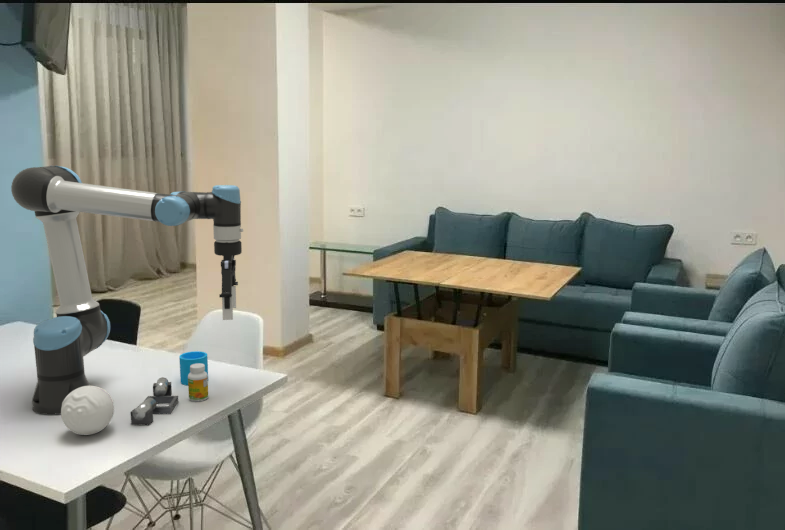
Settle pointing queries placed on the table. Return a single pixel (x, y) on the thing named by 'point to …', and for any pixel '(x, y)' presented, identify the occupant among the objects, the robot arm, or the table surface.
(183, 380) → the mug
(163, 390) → the shaft
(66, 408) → the decorative ball
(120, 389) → the table surface
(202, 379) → the supplement bottle
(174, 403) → the collar
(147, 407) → the shaft
